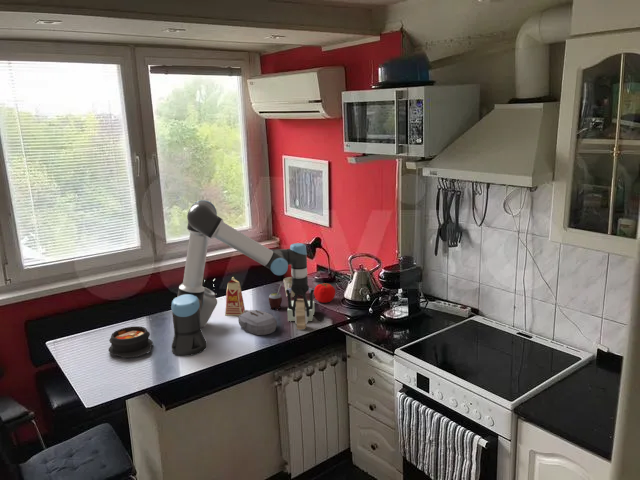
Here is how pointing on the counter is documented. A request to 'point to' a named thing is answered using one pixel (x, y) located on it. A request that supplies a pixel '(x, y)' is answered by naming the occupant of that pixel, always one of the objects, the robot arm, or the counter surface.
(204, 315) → the jar
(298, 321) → the peg
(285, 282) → the mug
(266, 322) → the small grey backpack
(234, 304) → the milk carton
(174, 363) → the counter surface
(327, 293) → the tomato
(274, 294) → the mate gourd
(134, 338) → the casserole
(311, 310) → the socket block
